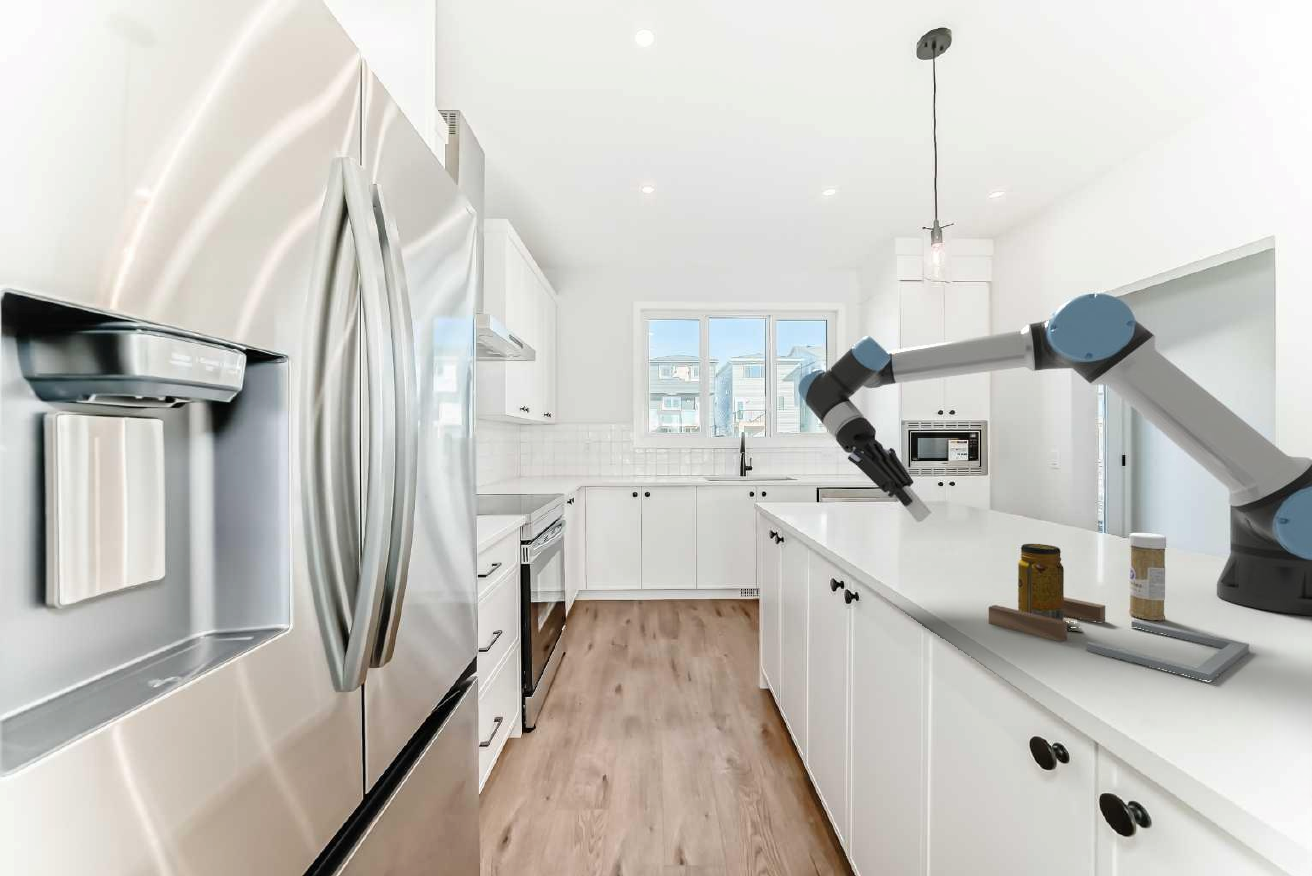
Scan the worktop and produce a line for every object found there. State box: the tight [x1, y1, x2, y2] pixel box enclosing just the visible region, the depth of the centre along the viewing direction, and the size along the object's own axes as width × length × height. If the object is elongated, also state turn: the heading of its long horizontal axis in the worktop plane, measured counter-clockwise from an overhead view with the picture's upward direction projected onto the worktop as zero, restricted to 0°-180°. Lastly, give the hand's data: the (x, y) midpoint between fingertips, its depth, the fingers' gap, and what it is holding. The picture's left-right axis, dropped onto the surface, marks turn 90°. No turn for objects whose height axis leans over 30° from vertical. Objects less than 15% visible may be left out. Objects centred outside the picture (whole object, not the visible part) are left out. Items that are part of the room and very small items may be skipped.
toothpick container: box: [1128, 532, 1167, 622], centre depth 94 cm, size 5×5×13 cm
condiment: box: [1017, 543, 1084, 633], centre depth 92 cm, size 7×8×12 cm
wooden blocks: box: [988, 596, 1106, 643], centre depth 92 cm, size 16×10×2 cm, turn 124°
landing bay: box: [1086, 619, 1250, 681], centre depth 80 cm, size 18×12×1 cm
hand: (924, 517), depth 109 cm, fingers closed
